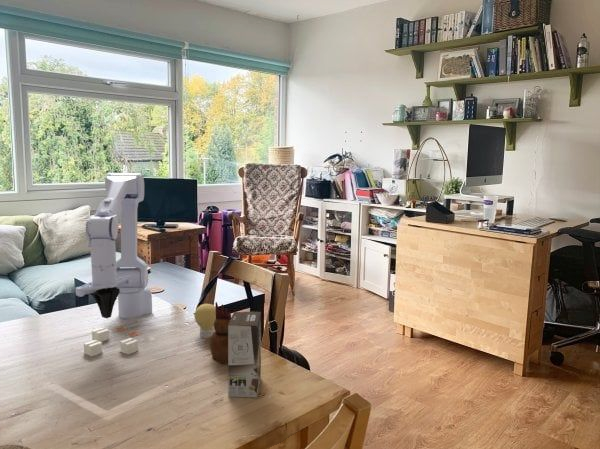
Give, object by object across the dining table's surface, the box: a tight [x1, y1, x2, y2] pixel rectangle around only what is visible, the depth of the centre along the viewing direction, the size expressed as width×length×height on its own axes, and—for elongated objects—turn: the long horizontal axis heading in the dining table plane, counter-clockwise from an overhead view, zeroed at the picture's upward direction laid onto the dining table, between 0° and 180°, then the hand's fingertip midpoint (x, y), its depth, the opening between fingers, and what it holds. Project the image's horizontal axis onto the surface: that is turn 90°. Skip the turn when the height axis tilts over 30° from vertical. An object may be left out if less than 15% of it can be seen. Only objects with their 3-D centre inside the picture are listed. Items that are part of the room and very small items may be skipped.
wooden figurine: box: [209, 301, 232, 364], centre depth 122 cm, size 7×6×15 cm
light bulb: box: [194, 303, 216, 339], centre depth 136 cm, size 6×6×10 cm
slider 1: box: [91, 327, 110, 343], centre depth 132 cm, size 3×3×3 cm
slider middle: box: [83, 340, 103, 357], centre depth 124 cm, size 3×3×3 cm
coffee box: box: [227, 311, 262, 399], centre depth 109 cm, size 9×6×16 cm
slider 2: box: [119, 337, 139, 355], centre depth 125 cm, size 3×3×3 cm
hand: (106, 316), depth 126 cm, fingers closed
